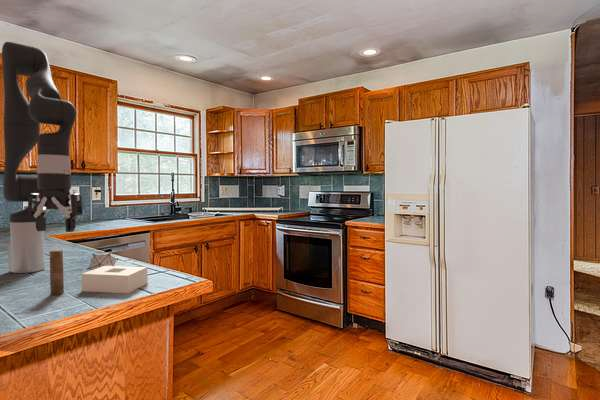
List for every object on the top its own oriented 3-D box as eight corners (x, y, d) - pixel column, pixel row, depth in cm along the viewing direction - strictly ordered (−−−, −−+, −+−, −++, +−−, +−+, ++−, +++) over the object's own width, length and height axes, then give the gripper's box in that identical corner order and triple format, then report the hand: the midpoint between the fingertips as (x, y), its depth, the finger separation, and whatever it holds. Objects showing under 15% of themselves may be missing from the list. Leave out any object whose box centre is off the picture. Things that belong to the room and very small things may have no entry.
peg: (47, 295, 94) (46, 251, 94) (56, 291, 97) (55, 249, 97) (57, 295, 94) (56, 252, 93) (66, 292, 97) (65, 250, 96)
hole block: (81, 291, 98) (81, 273, 98) (105, 281, 108) (104, 265, 108) (128, 293, 97) (128, 275, 96) (147, 283, 107) (147, 267, 106)
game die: (97, 288, 113) (75, 267, 108) (104, 273, 120) (83, 253, 115) (122, 275, 113) (101, 253, 108) (127, 260, 121) (107, 240, 116)
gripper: (18, 171, 91) (19, 232, 92) (67, 171, 90) (69, 233, 90) (42, 172, 99) (43, 229, 99) (88, 172, 97) (89, 230, 98)
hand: (55, 231), depth 95 cm, fingers open, 8 cm apart
